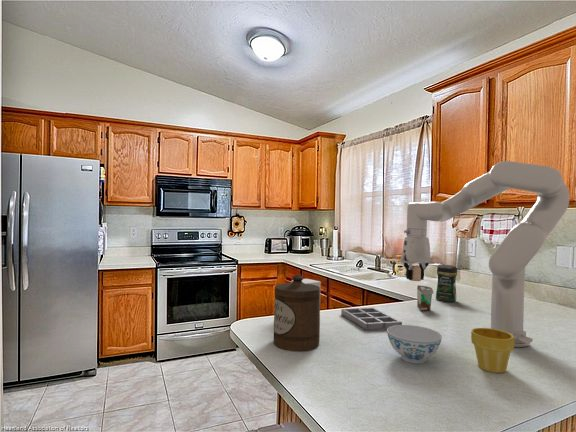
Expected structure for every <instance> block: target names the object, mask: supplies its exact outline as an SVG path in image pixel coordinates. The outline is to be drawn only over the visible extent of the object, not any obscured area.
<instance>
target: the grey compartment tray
mask: <svg viewBox="0 0 576 432" xmlns="http://www.w3.org/2000/svg"><path fill="white" fill-rule="evenodd" d="M340 312H341V314H340V315H341V316H343V317H344V318H345V319H346V320H348V321H350V322H351V323H353V324H354V325H356V326H357V327H360V329H362V330H363V331H365V332H368V331H384V330H386V331H387V329H388V328H389V327H391V326H395V325H403V322H402V321H401V320H399V319H397V318H395V317H394V316H391V315H390V314H387V313H385V312H383V311H382V310H379V309H377V308H375V307H360V308H359V307H354V308H351V307H350V308H341V311H340Z"/></svg>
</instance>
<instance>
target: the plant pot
mask: <svg viewBox="0 0 576 432" xmlns="http://www.w3.org/2000/svg"><path fill="white" fill-rule="evenodd" d="M470 333H471V335H470V337H471V338H470V339H471V343H472V344H473V345H474V350H475V355H476V359H477V364H478V367H479V368H480V369H481V370H483V371H486V372H490V373H494V374H495V373H496V374H502V373H505V372H506V371H507V369H508V364H509V361H510V356H511V353H512V351H513V350H514V348H515V347H514V336H513V335H512V334H510V333H508V332H505V331H502V330H497V329H491V327H490V328H489V327H475V328H473V329H471V332H470Z"/></svg>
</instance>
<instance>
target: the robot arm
mask: <svg viewBox="0 0 576 432" xmlns="http://www.w3.org/2000/svg"><path fill="white" fill-rule="evenodd" d="M510 189H515V190H520V191H525V192H532V193H535V194H536V195H537V199H536V202H535V203H534V204H533V206H532V207H531V208H530V209H529V211H528V212H527V214H526V215H525V217H523V219H522V220H521V221H520V223H517V224H516V225H514V226H512V228H511V229H510V230H509V231H508V233H507V234H506V235H505V237H504V238H503V240H502V241H501V242H500V244H499V245H498V246H497V247H496V249H495V250H494V252H492V254H491V256H490V258H489V260H488V268H489V270H490V272H491V274H492V275H491V276H492V277H491V303H490V304H491V306H490V307H491V310H490V312H491V313H490V328H491V329H497V330H502V331H505V332H508V333H510V334H512V335H513V336H514V348H523V347H524V348H525V347H528V346H529V345H531V343H532V342H533V340H534V339H533V338H531V337H529V336H527V331H524V321H525V320H524V319H525V318H524V315H525V314H524V313H525V312H524V311H525V309H524V308H525V279H526V268H527V266H528V265H529V263H530V262H531V260H532V259H533V258H534V257H535V256H536V254H537V253H538V252H539V250H540V249H541V248H542V247H543V246H544V244H545V242H546V240H547V238H548V236H549V235H550V234H551V232H552V231H553V230H554V228H556V226H557V224H558V223H559V221H560V220H561V219H562V218H563V217H564V215H565V213H566V212H567V209H568V207H569V204H570V191H569V189H568V187H567V185H566V183H565V181H564V178H563V176H562V173H561V172H560V171H559V170H557V169H556V168H554V167H551V166H547V165H539V164H532V163H523V162H517V161H511V160H502V161H499V162H497V163H496V164H494V165H493V166H491V169H490V171H488V172H486V173H484V174H481V176H479V177H476V178H475V179H472V180H471V181H469V182H467V183H466V184H465V185H464V186H463V187H462V189H461V190H459V191H458V192H457V193H455V194H454V195H453V196H451V197H449V198H447V199H446V200H443V201H441V202H440V201H430V202H429V201H428V202H420V201H419V202H415V201H414V202H408V204H407V210H406V211H407V213H406V230H403V233H404V234H406V235H405V237H404V241H403V244H402V253H401V254H402V255H401V256H400V258H399V259H398V262H399V263H400V264H401V265H402V266H403V268H404V269H405V278H406V280H408V281H410V280H412V276H413V270H411V268H412V265H414V263H418V264H417V265H418V266H419V267H420V268H421V281H423V280H425V270H426V269H427V267H428V266H429V265H430V264H431V263H432V262H433V260H432V259H431V246H430V245H431V244H430V239H429V237H428V236H427V233H428V230H427V229H428V221H429V222H446V221H449V220H451V219H453V218H455V217H457V216H459V215H461V214H463V213H465V212H467V211H468V210H470V209H472V208H475V207H477V206H478V205H480V204H482V203H484V202H485V201H487V200H490V199H492V198H494V197H496V196H497V195H500V194H502V193H504V192H506V191H508V190H510Z"/></svg>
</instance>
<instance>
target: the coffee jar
mask: <svg viewBox="0 0 576 432" xmlns="http://www.w3.org/2000/svg"><path fill="white" fill-rule="evenodd" d="M436 267H437V268H436V275H437V284H436V292H435V299H436V300H437V301H440V302H445V303H446V302H447V303H455V302H456V301H457V287H456V286H457V285H456V284H457V283H456V280H457V279H456V278H457V276H458V270H457V269H458V268H457V266H455V265H451V264H450V265H449V264H438V265H437V266H436Z"/></svg>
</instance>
